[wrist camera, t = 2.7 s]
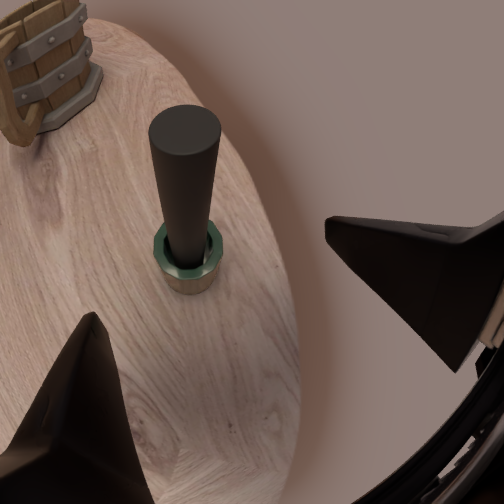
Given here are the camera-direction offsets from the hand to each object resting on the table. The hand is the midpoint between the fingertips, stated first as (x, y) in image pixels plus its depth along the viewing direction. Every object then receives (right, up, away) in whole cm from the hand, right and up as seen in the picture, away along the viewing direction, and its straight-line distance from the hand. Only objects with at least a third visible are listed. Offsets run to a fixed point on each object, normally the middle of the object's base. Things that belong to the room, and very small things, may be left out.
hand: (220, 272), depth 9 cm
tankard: (-23, +16, +13) cm, 30 cm away
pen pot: (-4, -1, +11) cm, 11 cm away
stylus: (-3, 0, +10) cm, 11 cm away
